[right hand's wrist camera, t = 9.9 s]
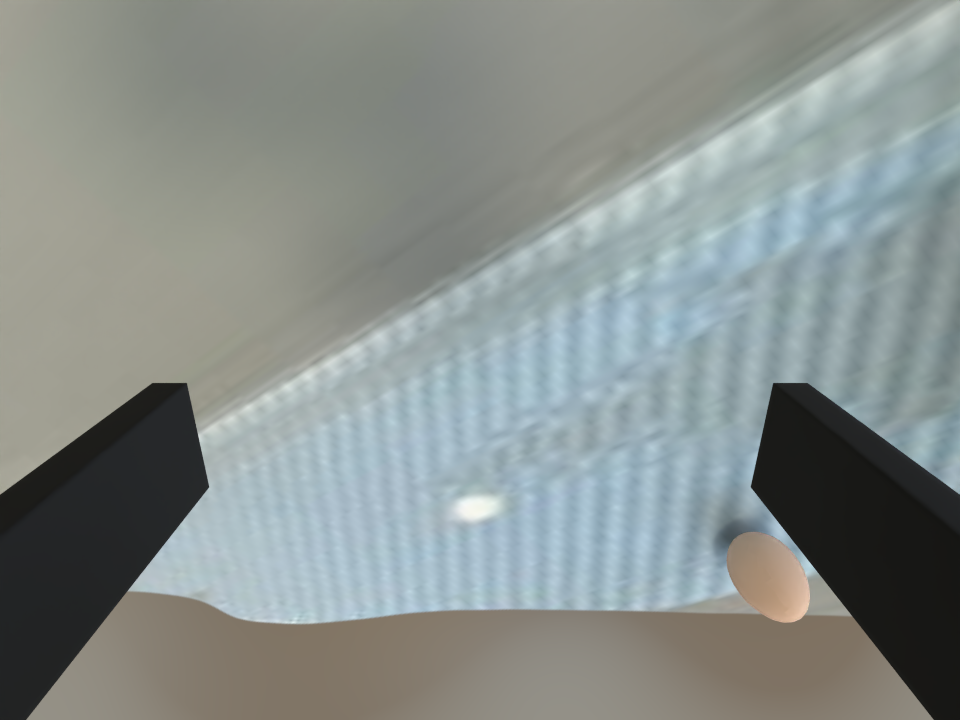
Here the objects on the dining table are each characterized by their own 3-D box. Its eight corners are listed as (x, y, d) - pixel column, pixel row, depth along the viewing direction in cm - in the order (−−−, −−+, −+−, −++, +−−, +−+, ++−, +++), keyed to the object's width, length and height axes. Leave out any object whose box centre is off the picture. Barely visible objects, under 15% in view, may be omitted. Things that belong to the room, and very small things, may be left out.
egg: (724, 572, 49) (770, 652, 41) (704, 530, 47) (748, 605, 40) (782, 550, 48) (839, 627, 40) (764, 506, 46) (820, 577, 39)
